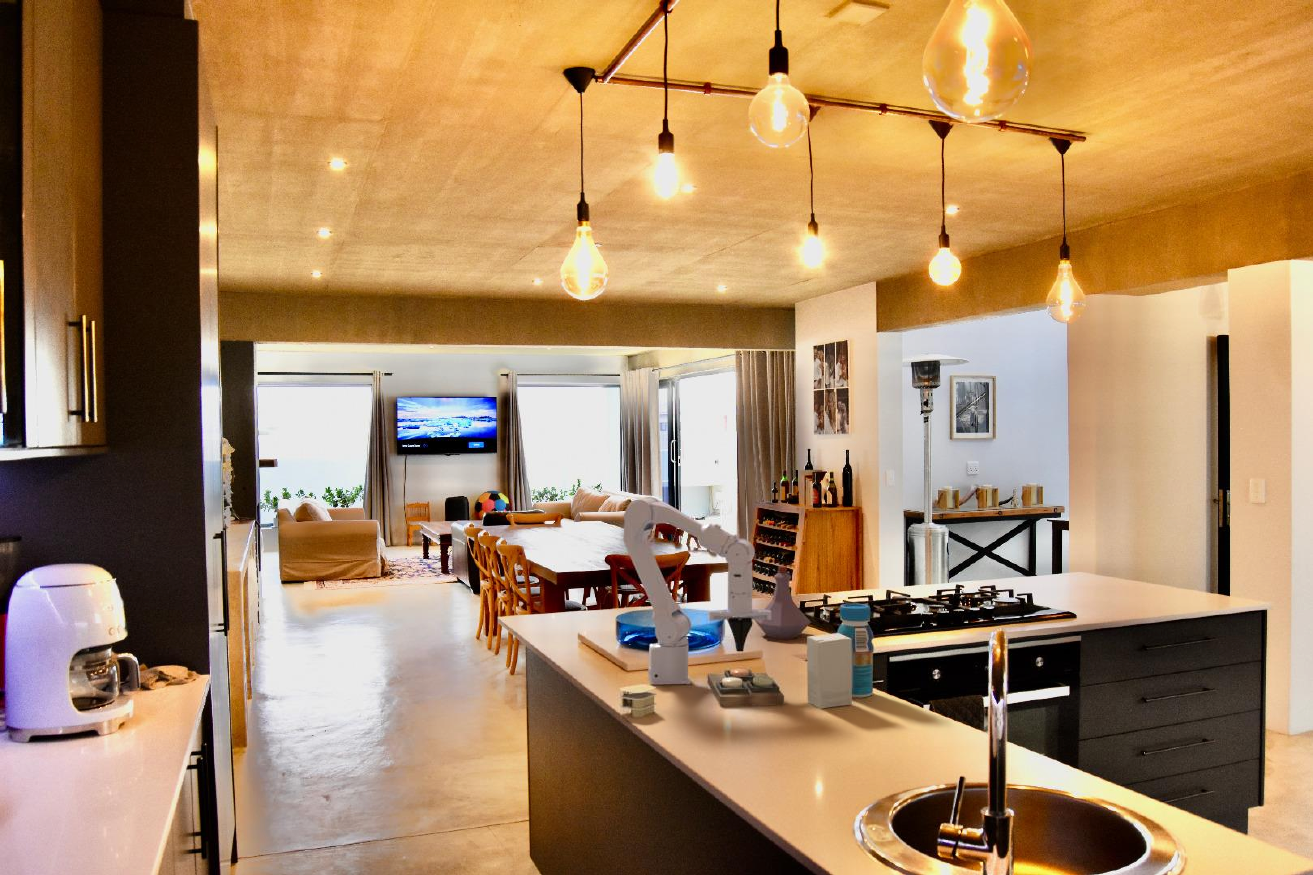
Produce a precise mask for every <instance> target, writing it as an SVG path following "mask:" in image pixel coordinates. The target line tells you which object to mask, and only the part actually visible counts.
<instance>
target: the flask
mask: <svg viewBox="0 0 1313 875" xmlns="http://www.w3.org/2000/svg"><path fill="white" fill-rule="evenodd" d="M777 568H778V573H776V574H774V576H773V577H774V579H775V582H776V583H775V587H774V588H775V589H774V592H773V596H772V600H771V601H770V602H769V603H768V604H767V605H766V607H765V608H764V609H763V610H770V611H771V620H767V619H753V621H755V623H756V624H757V626H758V627H759V628H760V629H761V630H762V632H763V633H764V634H765V635H766V636H767V637H769V638H770V639H771V638H772V639H778V640H779V639H780V640H784V639H785V640H787V639H788V640H789V639H795V638H798V637H799V636H800V635H801V634H802V633H803V632H804V631H805V630H806V628H807V627H808V626H809V624H811V621H810V619H809V617H807V616H806V615H805V614H804V613H803V611H801V609H800V608H799V607H798V606H797V604H796V603H795V602H794V599H793V596H792V592H791V589H790V580H791V578H792V576H791V575H790V573H787V571H788V567H787V566H784V565H780V566H779V565H778V566H777Z"/></svg>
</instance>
